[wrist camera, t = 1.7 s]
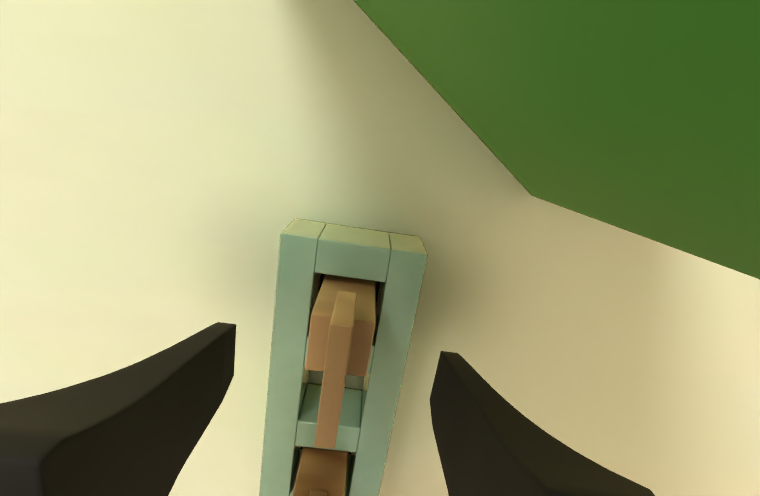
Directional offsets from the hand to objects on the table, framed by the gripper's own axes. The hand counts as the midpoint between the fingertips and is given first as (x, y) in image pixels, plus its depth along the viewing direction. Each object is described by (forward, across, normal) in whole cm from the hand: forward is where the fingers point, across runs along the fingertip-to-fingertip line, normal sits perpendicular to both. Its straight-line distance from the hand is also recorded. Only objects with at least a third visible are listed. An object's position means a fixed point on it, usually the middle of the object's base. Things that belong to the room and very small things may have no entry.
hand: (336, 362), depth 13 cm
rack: (+7, 0, +5) cm, 9 cm away
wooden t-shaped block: (+7, 0, 0) cm, 7 cm away
